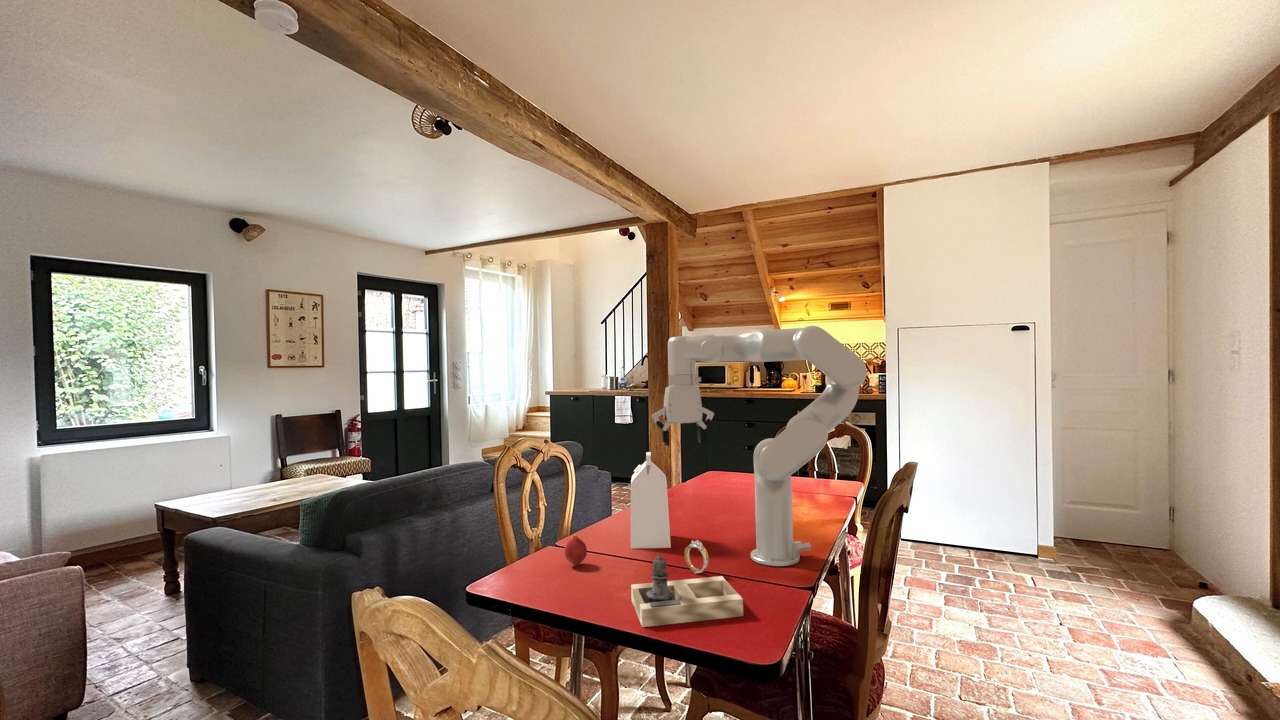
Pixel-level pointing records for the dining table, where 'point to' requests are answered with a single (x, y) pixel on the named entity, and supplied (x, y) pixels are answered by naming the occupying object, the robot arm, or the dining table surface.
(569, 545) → the onion
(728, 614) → the wooden compartment tray
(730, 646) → the dining table surface
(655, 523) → the milk
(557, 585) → the dining table surface
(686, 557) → the gemstone ring
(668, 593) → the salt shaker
